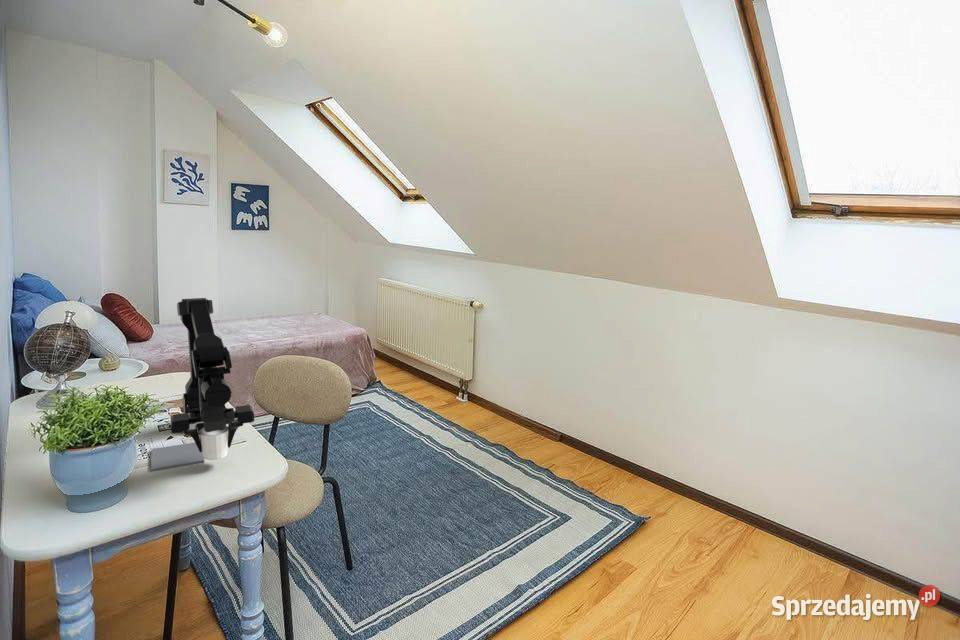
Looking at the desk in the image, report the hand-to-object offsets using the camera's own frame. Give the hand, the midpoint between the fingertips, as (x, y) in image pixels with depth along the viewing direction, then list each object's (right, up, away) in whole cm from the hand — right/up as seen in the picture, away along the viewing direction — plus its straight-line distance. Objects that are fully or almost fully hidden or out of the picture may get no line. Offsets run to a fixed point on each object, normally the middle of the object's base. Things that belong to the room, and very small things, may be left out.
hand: (214, 449), depth 139 cm
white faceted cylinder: (0, -2, 0) cm, 2 cm away
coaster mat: (-12, -3, +5) cm, 14 cm away
